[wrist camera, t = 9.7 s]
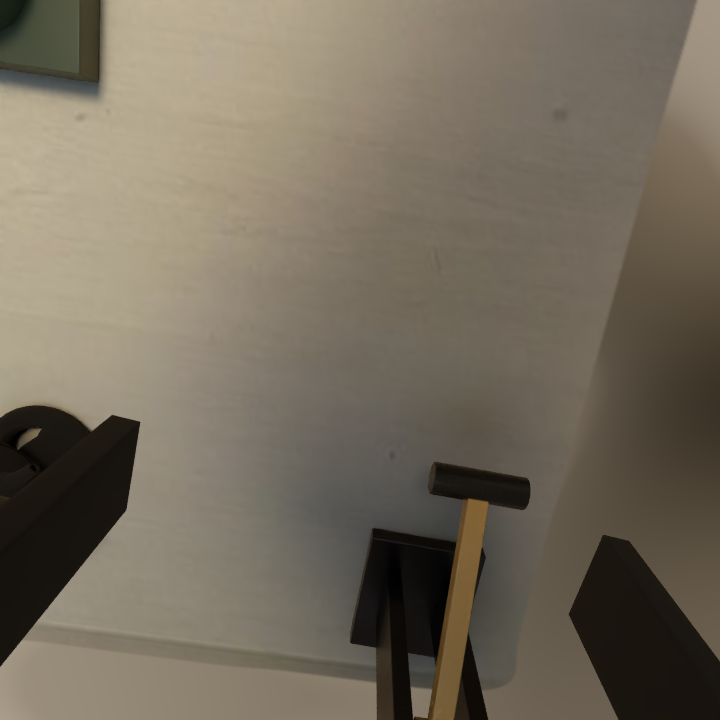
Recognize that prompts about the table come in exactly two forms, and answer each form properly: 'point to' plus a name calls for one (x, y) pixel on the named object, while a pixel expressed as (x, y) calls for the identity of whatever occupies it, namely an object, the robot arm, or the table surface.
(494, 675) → the table surface
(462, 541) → the switch lever
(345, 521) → the table surface
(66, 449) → the webcam
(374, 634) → the switch bracket
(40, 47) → the button block
